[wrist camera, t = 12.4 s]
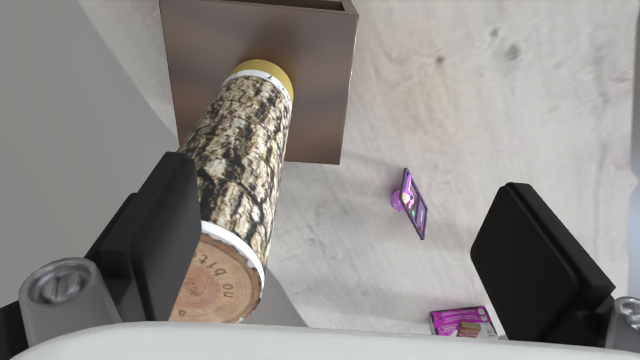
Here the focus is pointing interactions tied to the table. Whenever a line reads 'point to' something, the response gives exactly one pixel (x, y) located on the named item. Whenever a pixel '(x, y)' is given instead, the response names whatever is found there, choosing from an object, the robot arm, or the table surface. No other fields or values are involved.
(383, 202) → the table surface
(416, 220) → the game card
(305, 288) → the table surface
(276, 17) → the walnut storage box
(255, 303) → the paper tube
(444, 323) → the candy bar box
